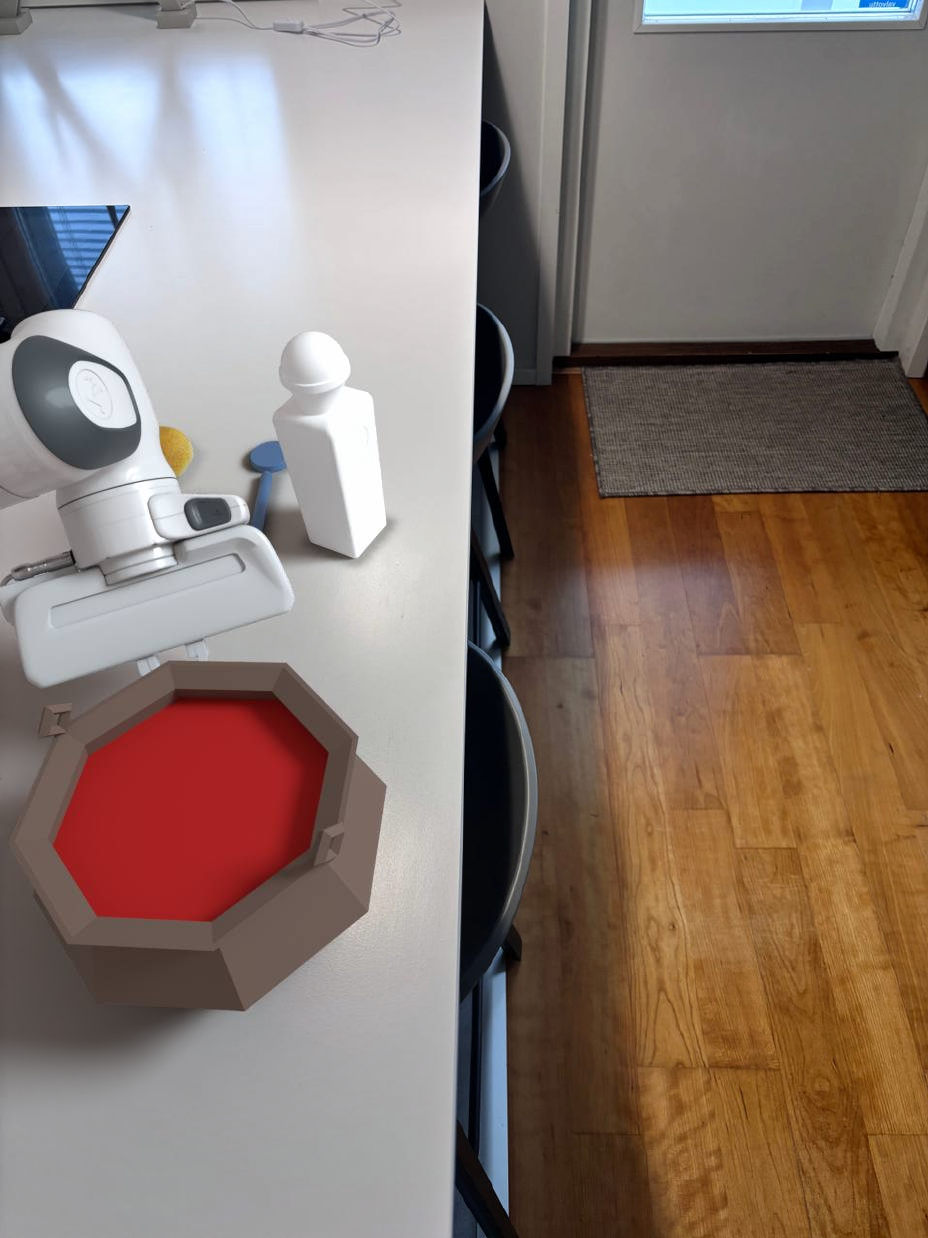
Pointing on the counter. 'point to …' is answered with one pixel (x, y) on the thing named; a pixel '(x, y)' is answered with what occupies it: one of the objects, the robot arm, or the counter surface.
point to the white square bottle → (330, 446)
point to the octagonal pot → (200, 834)
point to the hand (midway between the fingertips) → (190, 706)
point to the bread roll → (176, 449)
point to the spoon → (265, 476)
